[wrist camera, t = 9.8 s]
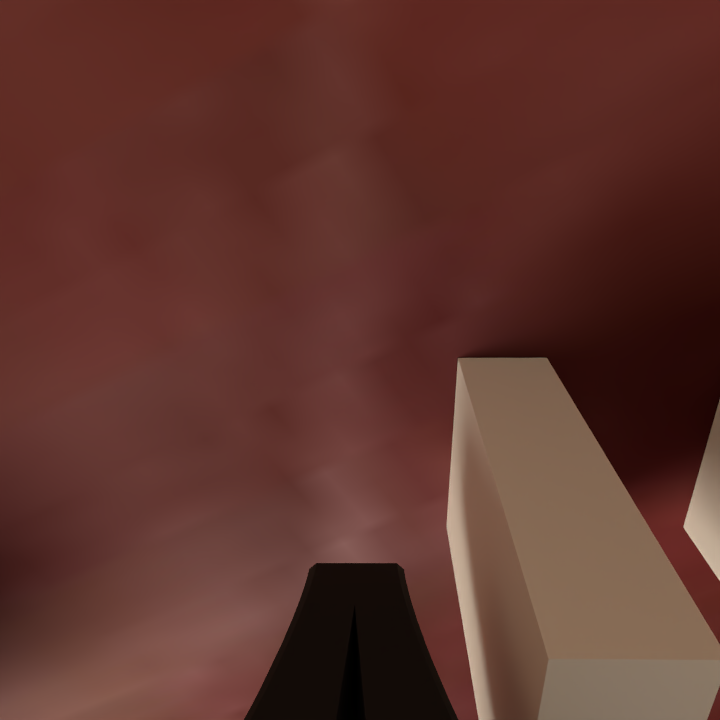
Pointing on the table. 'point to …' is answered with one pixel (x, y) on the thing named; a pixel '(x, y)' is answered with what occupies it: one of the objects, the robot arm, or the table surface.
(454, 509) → the domino
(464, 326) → the table surface
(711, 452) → the domino
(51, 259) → the table surface
